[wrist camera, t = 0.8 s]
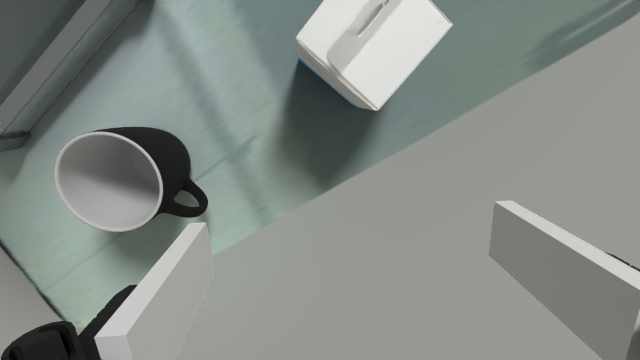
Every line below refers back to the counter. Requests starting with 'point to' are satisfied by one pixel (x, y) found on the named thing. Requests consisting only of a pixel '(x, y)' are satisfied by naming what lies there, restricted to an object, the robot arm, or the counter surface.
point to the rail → (58, 67)
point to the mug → (125, 177)
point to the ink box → (369, 45)
